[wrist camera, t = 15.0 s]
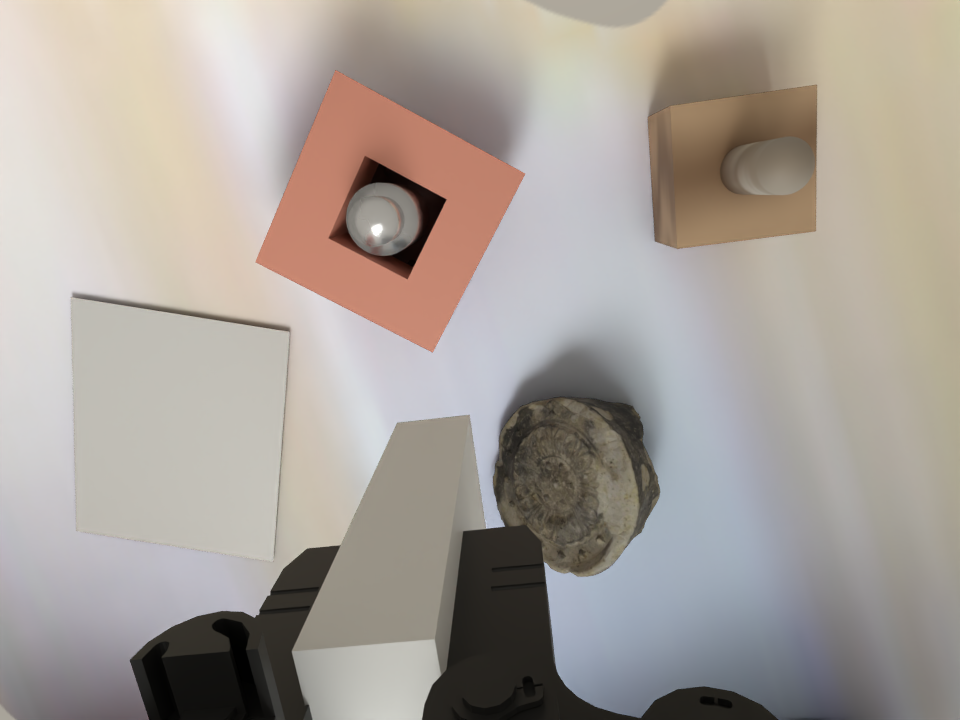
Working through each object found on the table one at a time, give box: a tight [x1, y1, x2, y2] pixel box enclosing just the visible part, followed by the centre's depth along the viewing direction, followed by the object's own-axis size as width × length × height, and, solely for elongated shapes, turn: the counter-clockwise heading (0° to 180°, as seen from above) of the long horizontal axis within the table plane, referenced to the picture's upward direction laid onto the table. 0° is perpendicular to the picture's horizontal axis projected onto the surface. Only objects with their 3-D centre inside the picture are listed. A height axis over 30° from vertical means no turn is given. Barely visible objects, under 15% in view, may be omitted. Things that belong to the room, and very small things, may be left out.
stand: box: [648, 85, 817, 249], centre depth 31 cm, size 7×7×10 cm
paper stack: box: [71, 297, 290, 562], centre depth 41 cm, size 23×25×1 cm
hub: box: [346, 163, 447, 267], centre depth 33 cm, size 7×7×10 cm
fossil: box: [493, 397, 660, 577], centre depth 38 cm, size 11×9×10 cm
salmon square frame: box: [256, 70, 525, 352], centre depth 33 cm, size 10×10×4 cm
